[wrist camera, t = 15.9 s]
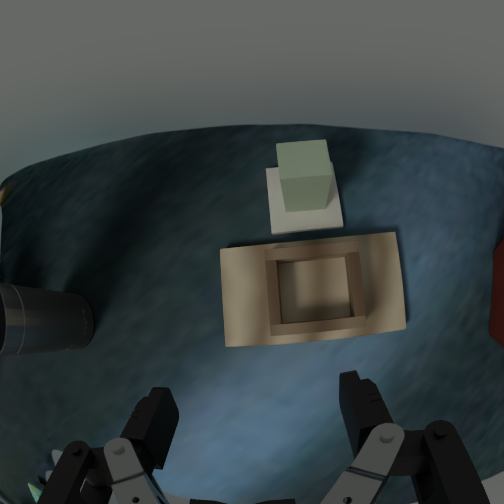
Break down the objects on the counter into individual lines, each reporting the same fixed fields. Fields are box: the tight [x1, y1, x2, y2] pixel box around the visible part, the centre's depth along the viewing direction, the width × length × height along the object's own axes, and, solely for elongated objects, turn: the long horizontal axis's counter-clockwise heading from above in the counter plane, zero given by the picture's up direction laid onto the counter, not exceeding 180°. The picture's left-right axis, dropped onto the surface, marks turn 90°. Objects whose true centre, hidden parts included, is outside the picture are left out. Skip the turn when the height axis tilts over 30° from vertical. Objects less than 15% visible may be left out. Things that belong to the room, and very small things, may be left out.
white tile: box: [266, 162, 343, 235], centre depth 37 cm, size 9×9×1 cm
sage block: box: [276, 140, 332, 213], centre depth 32 cm, size 5×4×10 cm
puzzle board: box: [220, 232, 406, 347], centre depth 33 cm, size 22×12×4 cm, turn 94°
